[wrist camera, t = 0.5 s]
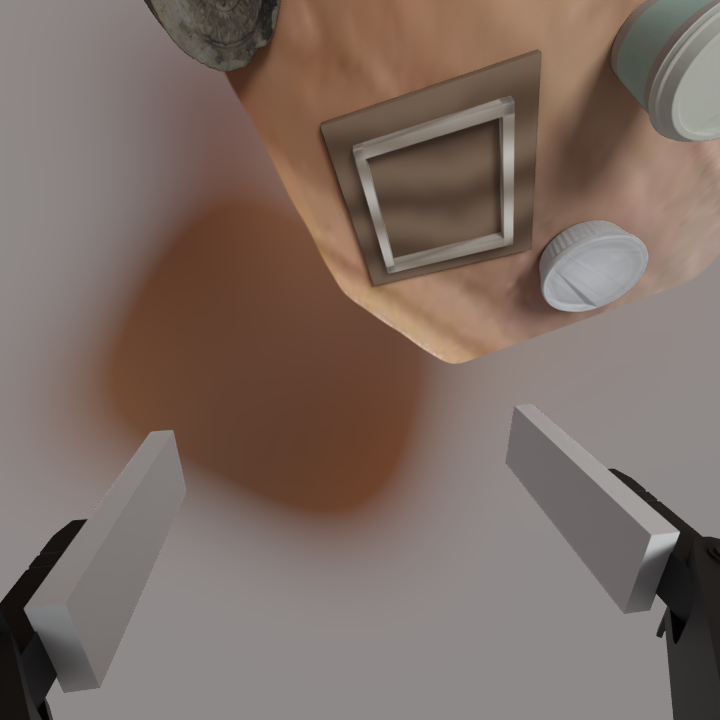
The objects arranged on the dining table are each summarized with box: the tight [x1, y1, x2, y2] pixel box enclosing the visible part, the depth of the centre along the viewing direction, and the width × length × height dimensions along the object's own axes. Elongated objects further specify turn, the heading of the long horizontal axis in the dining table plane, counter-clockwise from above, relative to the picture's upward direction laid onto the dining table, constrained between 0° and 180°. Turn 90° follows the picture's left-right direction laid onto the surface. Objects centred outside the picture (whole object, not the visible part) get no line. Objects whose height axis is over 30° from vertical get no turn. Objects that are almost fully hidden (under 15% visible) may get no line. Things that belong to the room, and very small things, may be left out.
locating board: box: [320, 49, 541, 286], centre depth 42 cm, size 20×20×2 cm
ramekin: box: [539, 220, 649, 312], centre depth 47 cm, size 11×11×5 cm
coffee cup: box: [611, 0, 720, 142], centre depth 28 cm, size 8×8×12 cm
